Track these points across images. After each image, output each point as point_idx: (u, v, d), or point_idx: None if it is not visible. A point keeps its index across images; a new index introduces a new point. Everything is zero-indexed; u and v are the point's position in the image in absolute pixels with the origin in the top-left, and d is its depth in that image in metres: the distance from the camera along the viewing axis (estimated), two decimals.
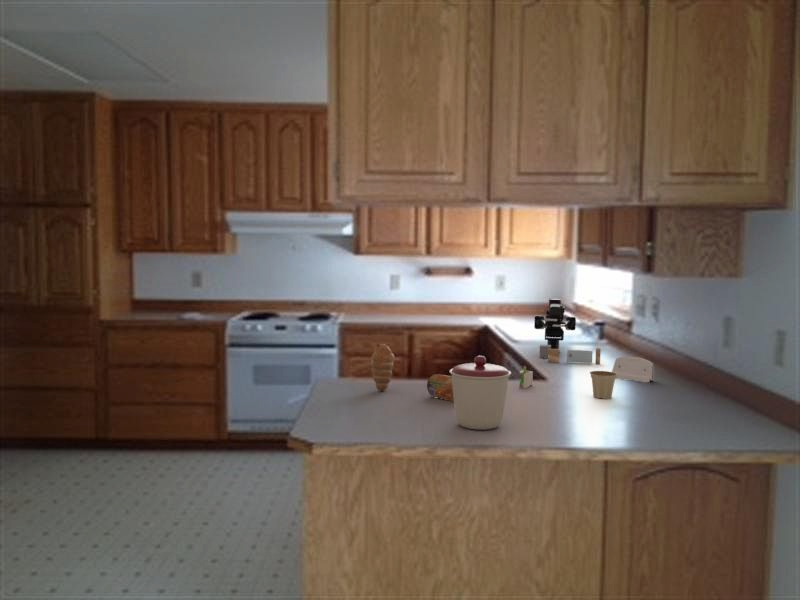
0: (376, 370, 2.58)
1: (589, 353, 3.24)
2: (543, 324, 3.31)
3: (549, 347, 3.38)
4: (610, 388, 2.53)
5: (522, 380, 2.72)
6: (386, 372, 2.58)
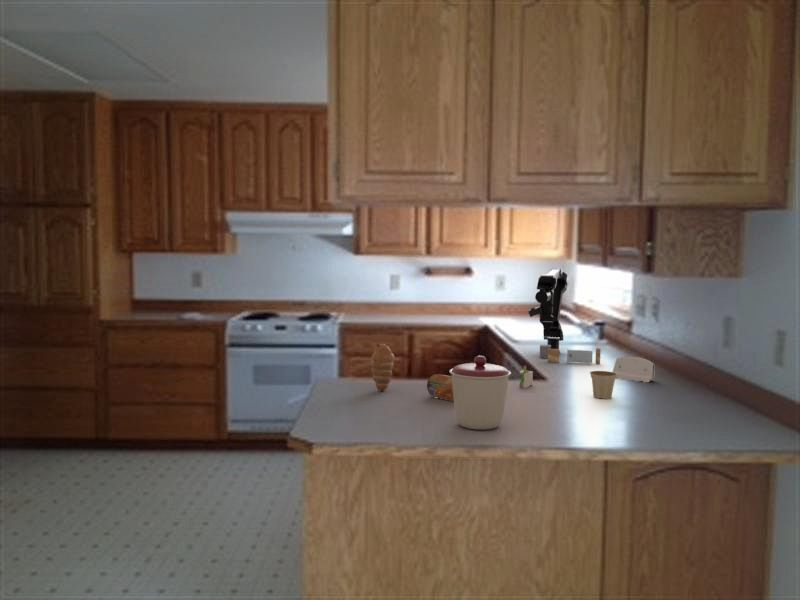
0: (376, 370, 2.58)
1: (589, 353, 3.24)
2: None
3: (549, 347, 3.38)
4: (610, 388, 2.53)
5: (522, 380, 2.72)
6: (386, 372, 2.58)
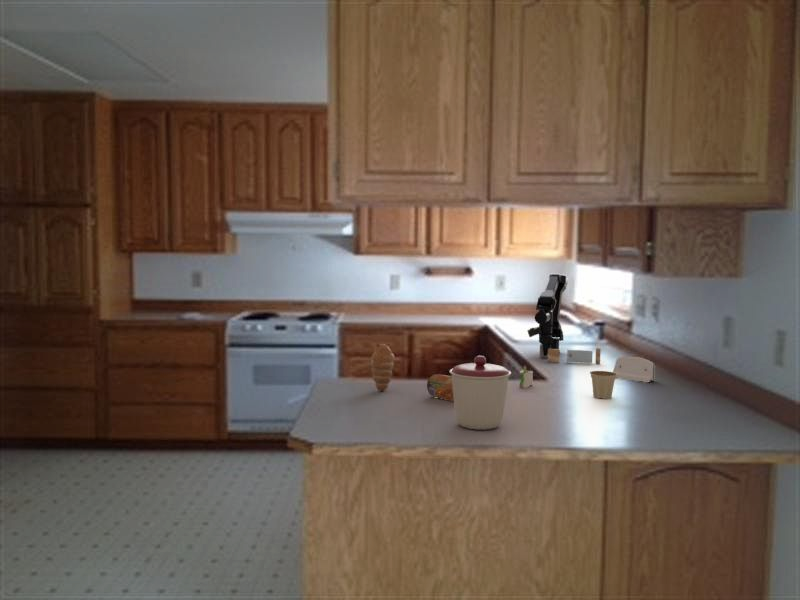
0: (376, 370, 2.58)
1: (589, 353, 3.24)
2: None
3: None
4: (610, 388, 2.53)
5: (522, 380, 2.72)
6: (386, 372, 2.58)
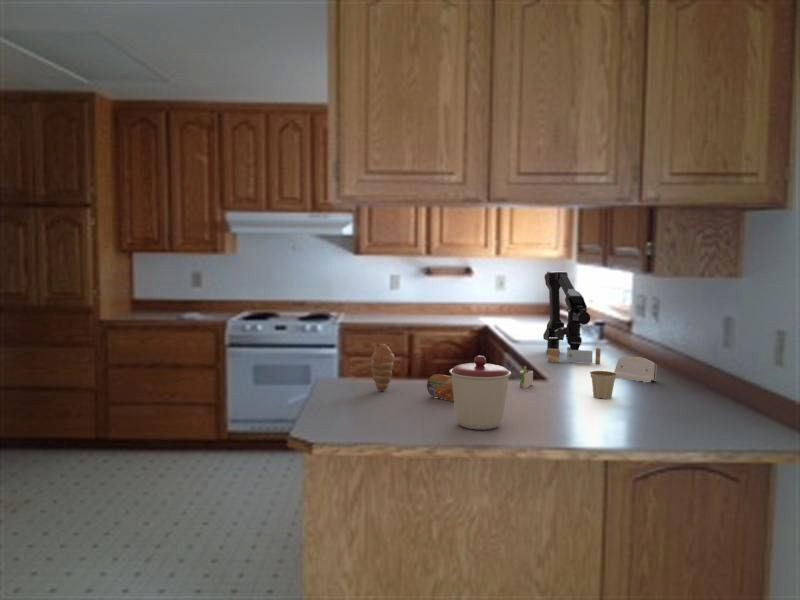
0: (376, 370, 2.58)
1: (589, 353, 3.24)
2: None
3: None
4: (610, 388, 2.53)
5: (522, 380, 2.72)
6: (386, 372, 2.58)
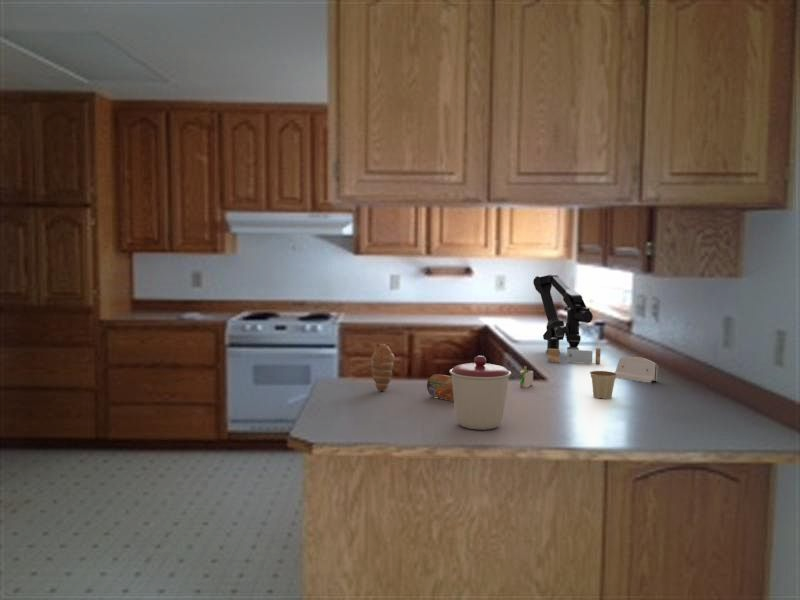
0: (376, 370, 2.58)
1: (589, 353, 3.24)
2: None
3: None
4: (610, 388, 2.53)
5: (523, 380, 2.73)
6: (386, 372, 2.58)
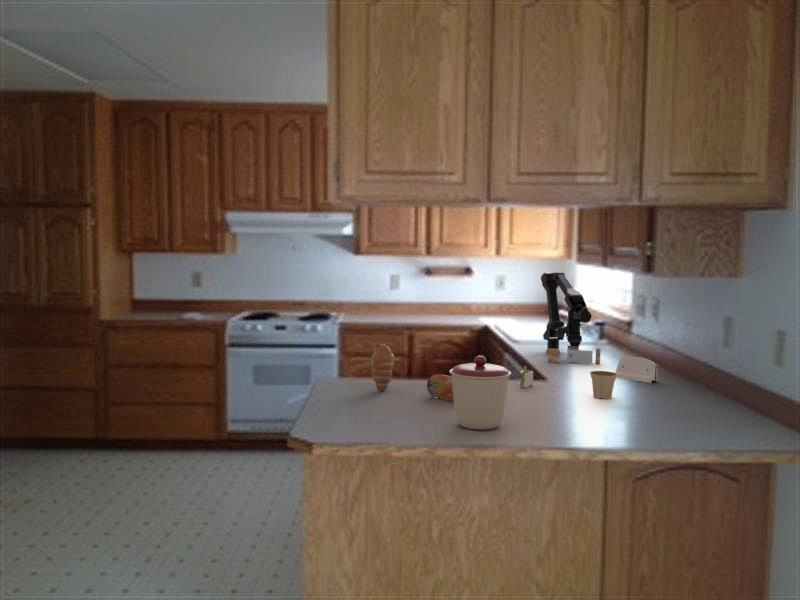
0: (376, 370, 2.58)
1: (589, 353, 3.24)
2: None
3: None
4: (610, 388, 2.53)
5: (523, 380, 2.73)
6: (386, 372, 2.58)
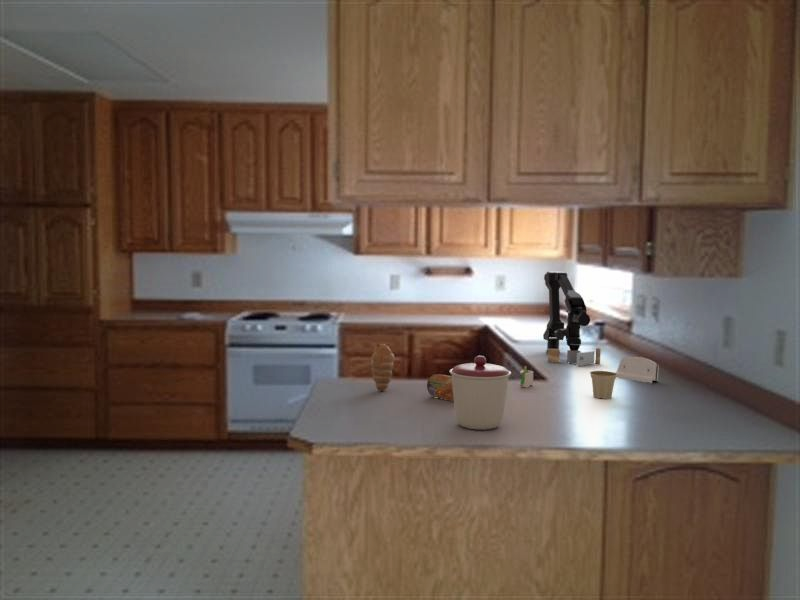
0: (376, 370, 2.58)
1: (592, 353, 3.22)
2: None
3: (579, 352, 3.22)
4: (610, 388, 2.53)
5: (523, 380, 2.73)
6: (386, 372, 2.58)
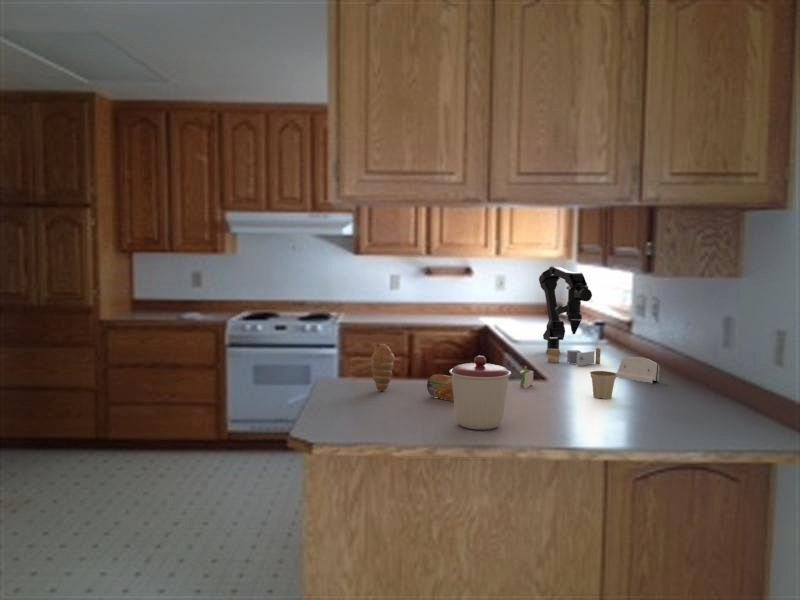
0: (376, 370, 2.58)
1: (592, 353, 3.22)
2: None
3: None
4: (610, 388, 2.53)
5: (523, 380, 2.73)
6: (386, 372, 2.58)
